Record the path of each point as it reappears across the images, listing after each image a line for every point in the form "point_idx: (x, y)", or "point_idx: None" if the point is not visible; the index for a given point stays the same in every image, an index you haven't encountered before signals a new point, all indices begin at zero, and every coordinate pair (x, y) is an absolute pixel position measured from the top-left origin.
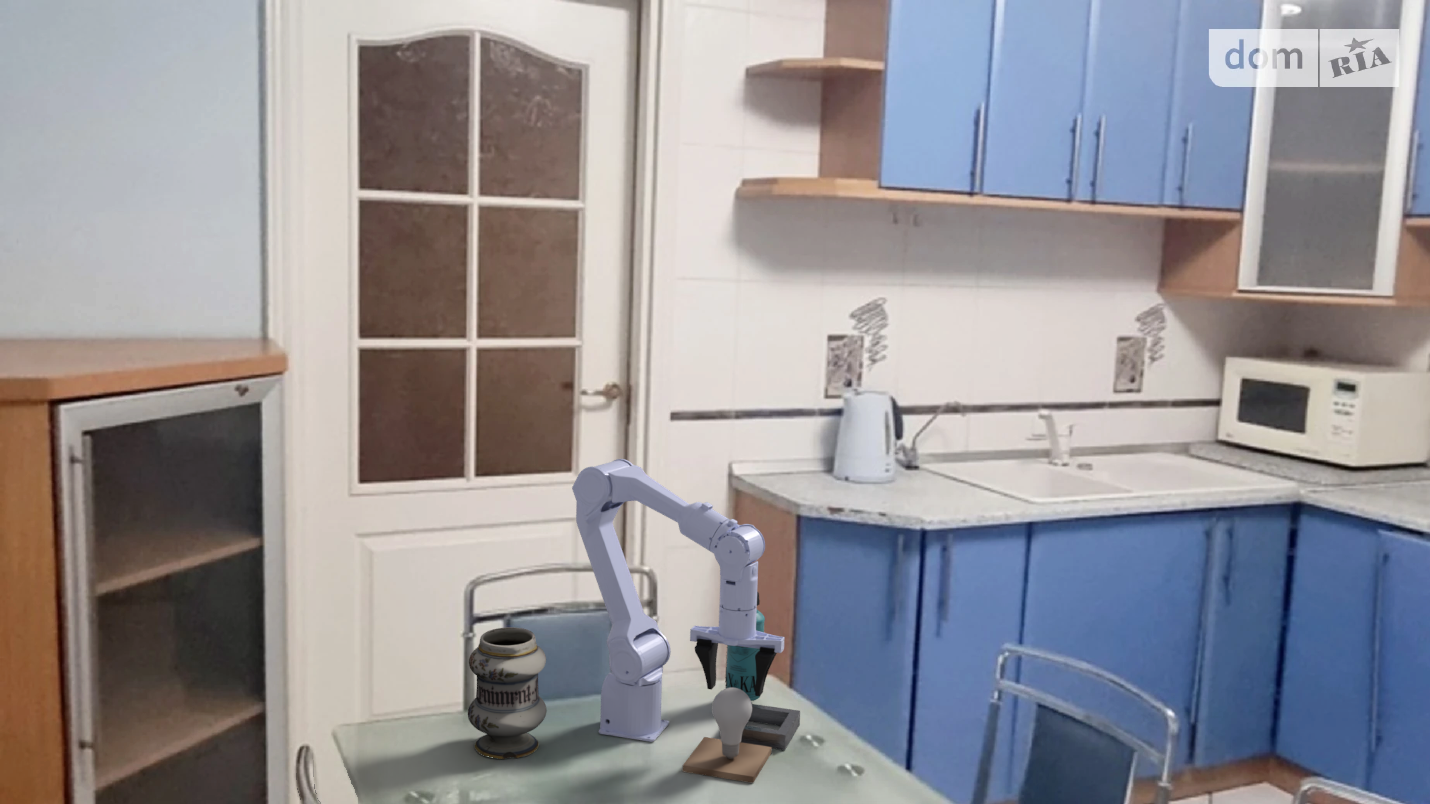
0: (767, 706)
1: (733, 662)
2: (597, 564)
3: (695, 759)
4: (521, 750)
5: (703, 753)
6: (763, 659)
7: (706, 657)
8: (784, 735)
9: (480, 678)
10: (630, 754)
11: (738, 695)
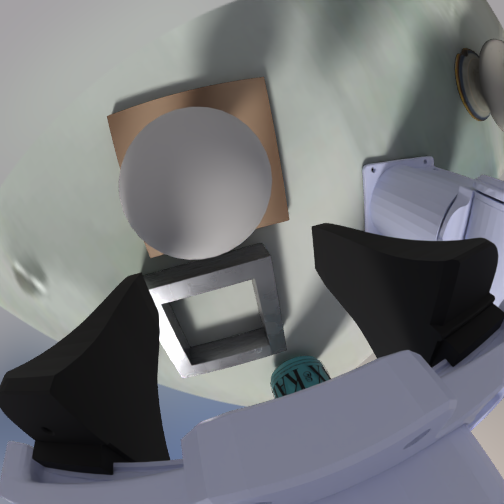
0: (236, 364)
1: None
2: None
3: (254, 113)
4: (462, 63)
5: None
6: (18, 376)
7: (420, 253)
8: None
9: None
10: (371, 107)
11: (149, 176)
